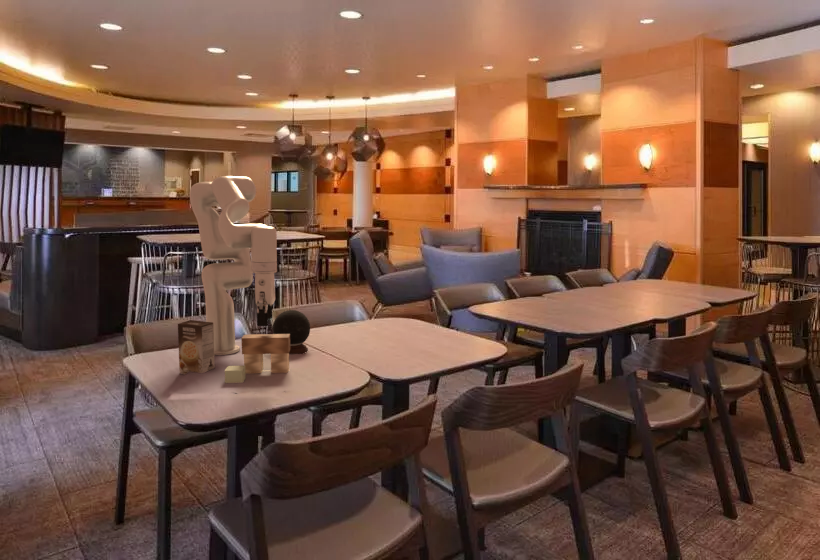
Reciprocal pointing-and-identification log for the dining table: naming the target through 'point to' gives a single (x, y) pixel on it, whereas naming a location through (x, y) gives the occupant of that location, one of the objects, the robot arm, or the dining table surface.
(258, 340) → the plank
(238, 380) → the cube
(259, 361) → the block
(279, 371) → the block
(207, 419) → the dining table surface
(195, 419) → the dining table surface
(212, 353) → the coffee box
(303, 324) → the black ball on stand
